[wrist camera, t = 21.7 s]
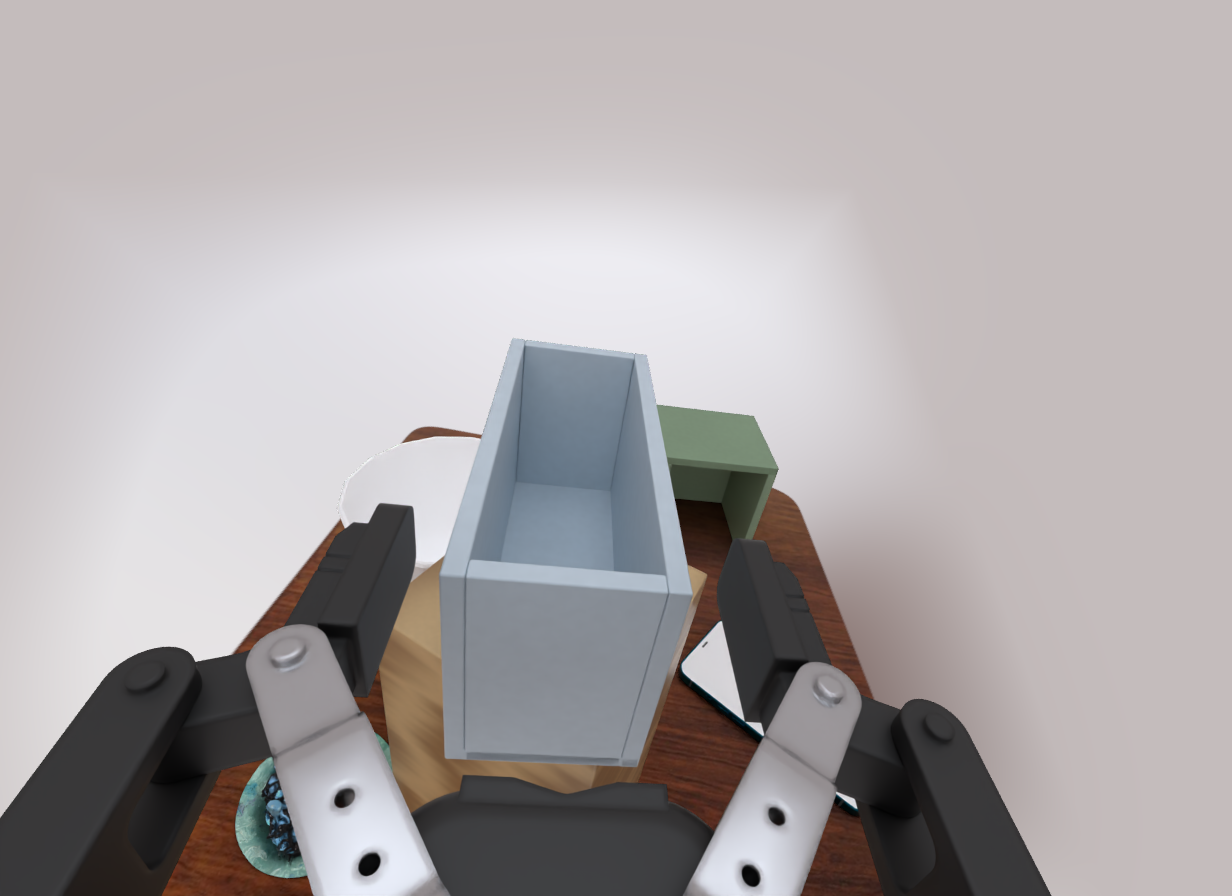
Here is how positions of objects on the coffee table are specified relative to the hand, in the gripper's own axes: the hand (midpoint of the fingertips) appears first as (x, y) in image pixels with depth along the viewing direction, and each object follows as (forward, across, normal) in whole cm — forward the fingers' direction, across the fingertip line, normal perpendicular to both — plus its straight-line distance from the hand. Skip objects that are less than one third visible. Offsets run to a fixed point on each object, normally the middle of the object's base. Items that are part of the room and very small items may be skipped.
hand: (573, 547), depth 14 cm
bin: (+6, 0, +8) cm, 10 cm away
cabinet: (+37, -15, +30) cm, 50 cm away
